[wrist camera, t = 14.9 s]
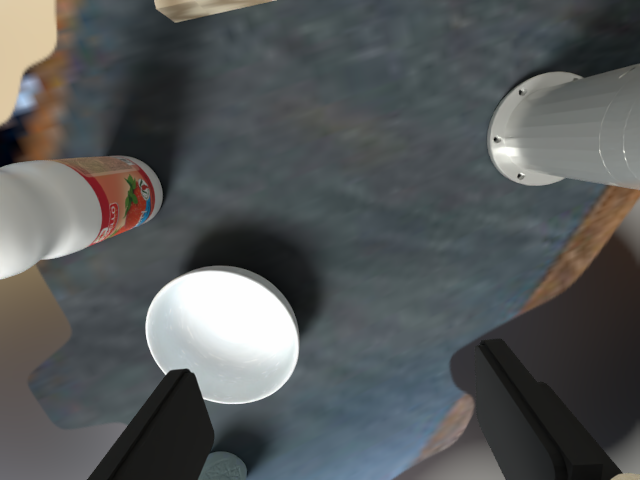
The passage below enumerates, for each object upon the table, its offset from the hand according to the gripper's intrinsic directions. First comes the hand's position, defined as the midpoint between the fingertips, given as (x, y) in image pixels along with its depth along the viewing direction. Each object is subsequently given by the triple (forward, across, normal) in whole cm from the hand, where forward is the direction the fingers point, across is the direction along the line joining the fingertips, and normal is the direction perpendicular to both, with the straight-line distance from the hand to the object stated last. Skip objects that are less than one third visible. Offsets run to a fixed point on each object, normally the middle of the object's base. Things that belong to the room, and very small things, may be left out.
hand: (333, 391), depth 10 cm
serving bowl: (+34, +18, +15) cm, 41 cm away
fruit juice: (+34, +28, -6) cm, 44 cm away
